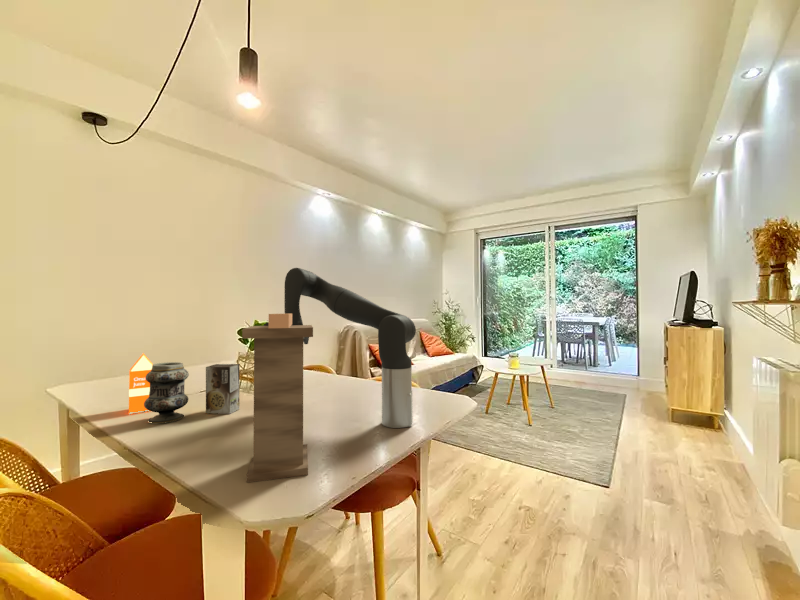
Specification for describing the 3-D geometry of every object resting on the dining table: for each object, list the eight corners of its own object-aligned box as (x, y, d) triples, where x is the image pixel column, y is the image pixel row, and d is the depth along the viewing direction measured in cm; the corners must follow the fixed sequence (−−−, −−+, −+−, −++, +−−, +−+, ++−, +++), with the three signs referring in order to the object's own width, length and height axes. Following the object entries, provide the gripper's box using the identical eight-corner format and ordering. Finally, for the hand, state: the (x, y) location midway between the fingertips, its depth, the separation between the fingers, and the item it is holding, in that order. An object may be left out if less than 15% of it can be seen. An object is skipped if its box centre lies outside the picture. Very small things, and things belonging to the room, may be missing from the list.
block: (277, 324, 99) (277, 313, 99) (292, 324, 100) (292, 313, 100) (268, 328, 74) (268, 313, 74) (288, 328, 75) (288, 313, 75)
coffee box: (240, 409, 127) (240, 363, 127) (229, 414, 120) (230, 366, 121) (216, 408, 128) (216, 363, 128) (204, 413, 121) (205, 366, 122)
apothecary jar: (196, 415, 119) (197, 361, 119) (161, 426, 108) (162, 367, 108) (170, 412, 123) (171, 360, 124) (134, 422, 112) (135, 365, 112)
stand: (252, 452, 87) (253, 326, 88) (311, 446, 91) (311, 325, 92) (241, 483, 72) (242, 328, 73) (312, 474, 75) (313, 327, 76)
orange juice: (128, 414, 121) (129, 355, 121) (128, 409, 128) (129, 353, 129) (156, 410, 125) (156, 353, 126) (155, 405, 132) (156, 351, 133)
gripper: (308, 359, 112) (309, 336, 99) (260, 361, 108) (254, 337, 95) (308, 338, 116) (309, 312, 103) (262, 339, 112) (256, 313, 99)
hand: (283, 324), depth 99 cm, fingers open, 8 cm apart
